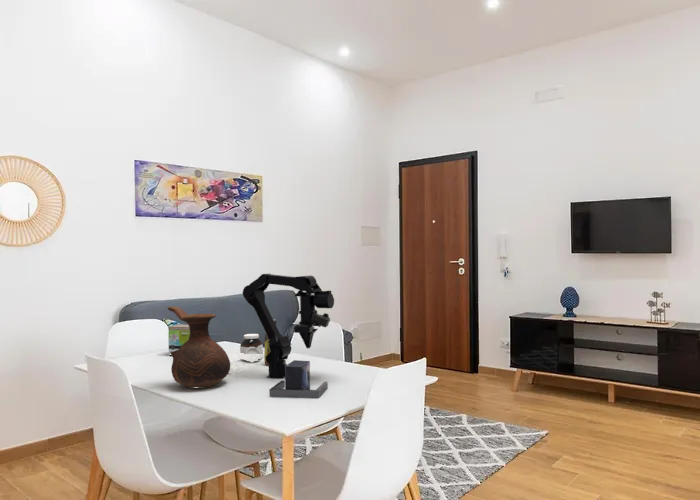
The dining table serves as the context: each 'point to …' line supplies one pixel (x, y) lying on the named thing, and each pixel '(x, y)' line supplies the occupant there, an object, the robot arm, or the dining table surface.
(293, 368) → the small box
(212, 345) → the jug
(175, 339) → the tea box
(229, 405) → the dining table surface
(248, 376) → the dining table surface
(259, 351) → the spread jar
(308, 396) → the guide rails
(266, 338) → the sauce bottle
